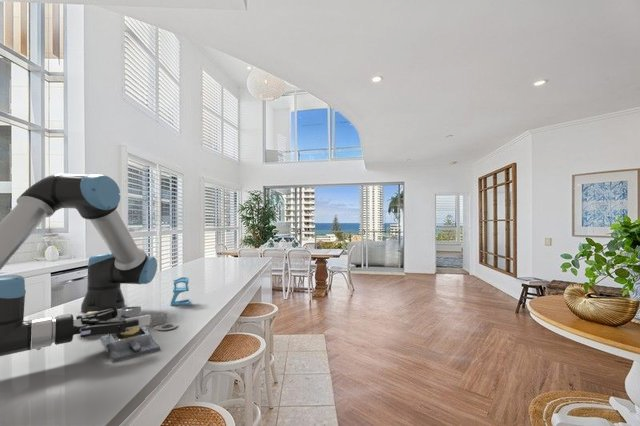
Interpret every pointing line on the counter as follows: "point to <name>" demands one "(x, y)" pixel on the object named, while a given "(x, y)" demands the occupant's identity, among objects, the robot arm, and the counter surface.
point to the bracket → (159, 320)
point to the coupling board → (129, 345)
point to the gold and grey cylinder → (130, 313)
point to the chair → (180, 291)
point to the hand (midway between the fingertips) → (145, 314)
